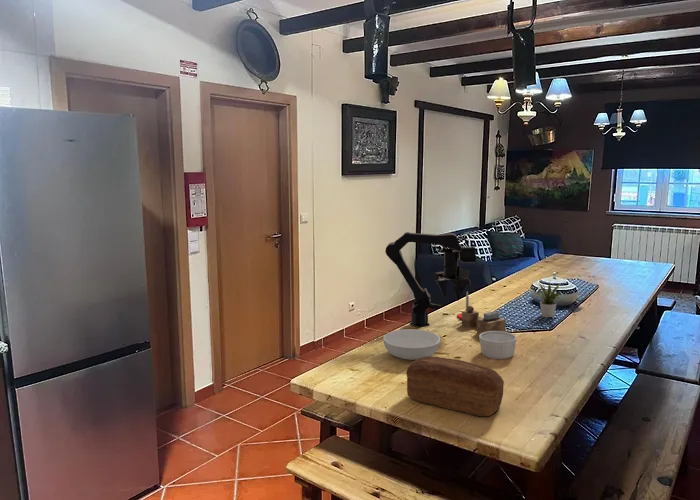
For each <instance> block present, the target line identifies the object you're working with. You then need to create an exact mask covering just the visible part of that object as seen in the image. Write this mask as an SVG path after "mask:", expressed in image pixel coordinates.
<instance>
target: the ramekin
mask: <svg viewBox="0 0 700 500" xmlns="http://www.w3.org/2000/svg"><path fill="white" fill-rule="evenodd" d="M478 336H479V337H478V339H479V344H480V345H479V346H480V350H481V354H483V356H484V357H485V358H489V359H494V360H506V359H510V358H512V357H513V356H514V355H515V350H516V343H517V341H518V340H517V336H516V335H515V334H514V333H511V332H509V331H508V332H507V331H506V332H503V331H488V332H483V333H481V334H479V335H478Z"/></svg>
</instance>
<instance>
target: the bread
mask: <svg viewBox="0 0 700 500" xmlns="http://www.w3.org/2000/svg"><path fill="white" fill-rule="evenodd" d="M405 374H406V378H407V379H406V387H407V388H406V389H407V390H406V391H407V393H406V394H407V396H408V397H409V398H410V399H412V400H413V401H417V402H419V403H424V404H425V403H426V404H430V405H434V406H438V407H441V408H445V409H449V410H453V411H458V412H459V411H460V412H464V413H467V414H471V415H474V416H477V417H478V416H480V417H489V416H492V415H493V414H494V413H495V412H497V411H498V409H499V408H500V406H501V404H502V402H503V395H504V386H505V385H504V384H505V383H504V382H505V381H504V379H503V377H502V376H501V375H500V374H499V373H498V372H497V371H496V370H494V369H492V368H489V367H485V366H482V365H479V364H476V363H472V362H469V361H465V360H461V359H456V358H455V359H453V358H445V357H440V356H427V357H422V358H419V359H416V360H413V361H412V362H411V363H410V364H409V366H408V367H407V369H406V373H405Z"/></svg>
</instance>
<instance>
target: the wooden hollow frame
mask: <svg viewBox="0 0 700 500" xmlns="http://www.w3.org/2000/svg"><path fill="white" fill-rule="evenodd" d="M461 313H462V320H461V325H462V326H464V327H466V328H474V327H476V334H479V335H480V334H481V333H483V332H488V331H503V332H507V331H506V326H507V325H506V324H507V319H505V318H502V317H500V316H499V319H498V320H494V321H489V322H487V321H484V317H481V316H479V315H480V313H479V312H478V311H475V310H474V307H473V305H469V306H468V307H467V311H465V310H463V311H462V310H461Z"/></svg>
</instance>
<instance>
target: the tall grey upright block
mask: <svg viewBox="0 0 700 500" xmlns="http://www.w3.org/2000/svg"><path fill="white" fill-rule="evenodd" d="M499 315H500V313H499V312H497V311H490V312H486V313H483V318H484V321H487V322H489V321H494V320H498V319H499V317H500V316H499Z"/></svg>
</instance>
